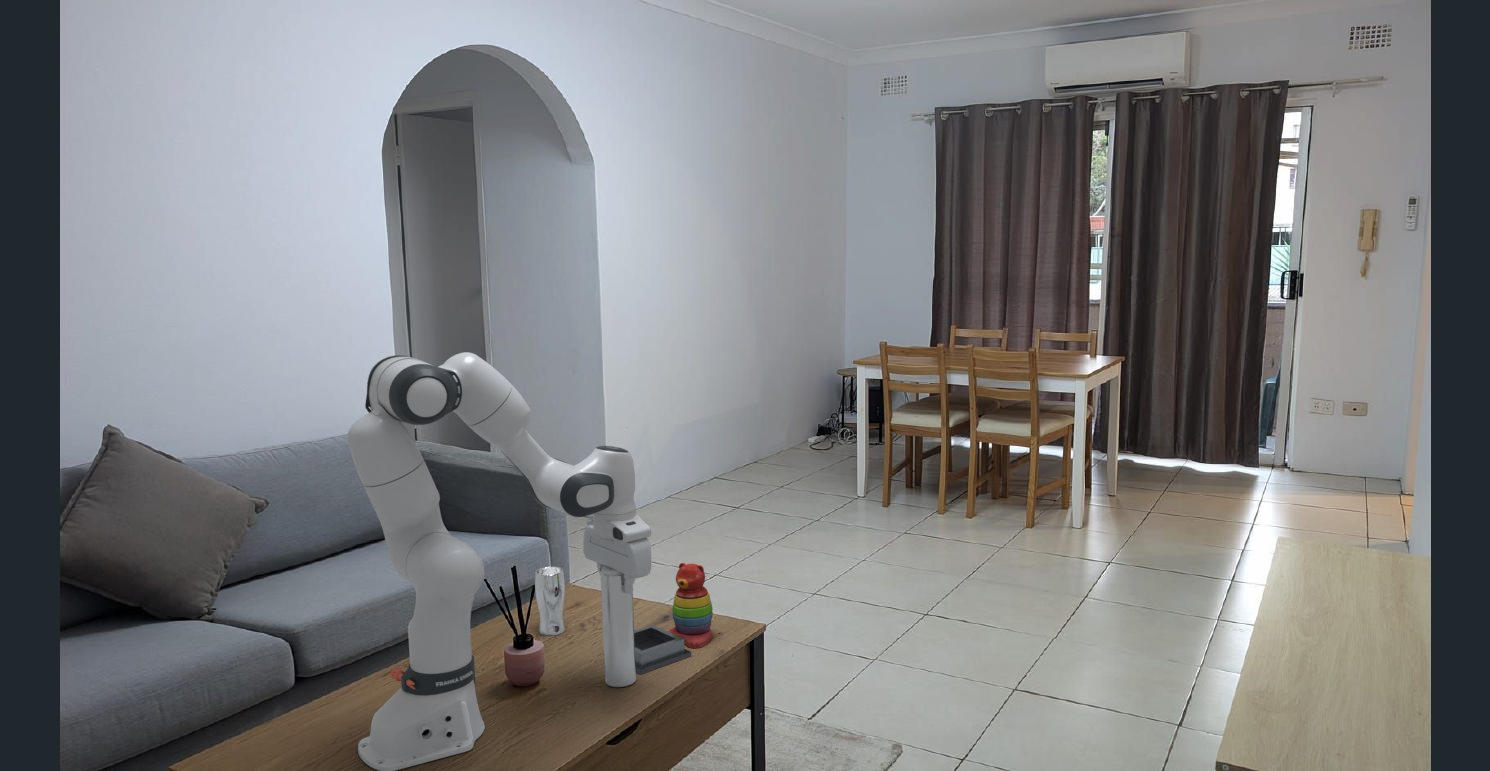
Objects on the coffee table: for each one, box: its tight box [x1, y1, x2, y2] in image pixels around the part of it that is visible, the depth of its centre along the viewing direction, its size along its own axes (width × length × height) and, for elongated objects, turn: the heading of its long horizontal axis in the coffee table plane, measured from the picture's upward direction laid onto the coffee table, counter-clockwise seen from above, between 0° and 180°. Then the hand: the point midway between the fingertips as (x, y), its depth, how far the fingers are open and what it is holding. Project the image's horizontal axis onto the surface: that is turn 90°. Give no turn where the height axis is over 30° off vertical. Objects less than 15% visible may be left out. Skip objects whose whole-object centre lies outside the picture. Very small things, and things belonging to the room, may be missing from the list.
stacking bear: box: [668, 562, 713, 649], centre depth 226 cm, size 11×10×18 cm
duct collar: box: [634, 624, 692, 675], centre depth 217 cm, size 14×14×4 cm
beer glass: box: [534, 566, 566, 637], centre depth 232 cm, size 7×7×15 cm
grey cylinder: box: [599, 566, 637, 688], centre depth 203 cm, size 6×6×25 cm
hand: (616, 588), depth 202 cm, fingers closed on grey cylinder, 6 cm apart
